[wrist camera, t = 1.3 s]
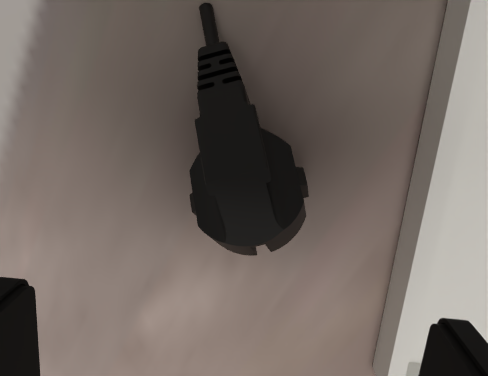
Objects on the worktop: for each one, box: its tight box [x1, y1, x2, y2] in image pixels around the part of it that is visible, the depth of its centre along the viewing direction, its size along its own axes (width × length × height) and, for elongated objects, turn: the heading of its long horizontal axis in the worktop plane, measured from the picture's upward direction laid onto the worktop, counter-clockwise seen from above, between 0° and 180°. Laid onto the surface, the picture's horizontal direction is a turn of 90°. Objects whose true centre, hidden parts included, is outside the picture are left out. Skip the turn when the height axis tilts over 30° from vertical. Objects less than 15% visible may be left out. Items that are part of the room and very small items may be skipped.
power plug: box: [190, 3, 309, 255], centre depth 22 cm, size 6×8×12 cm
